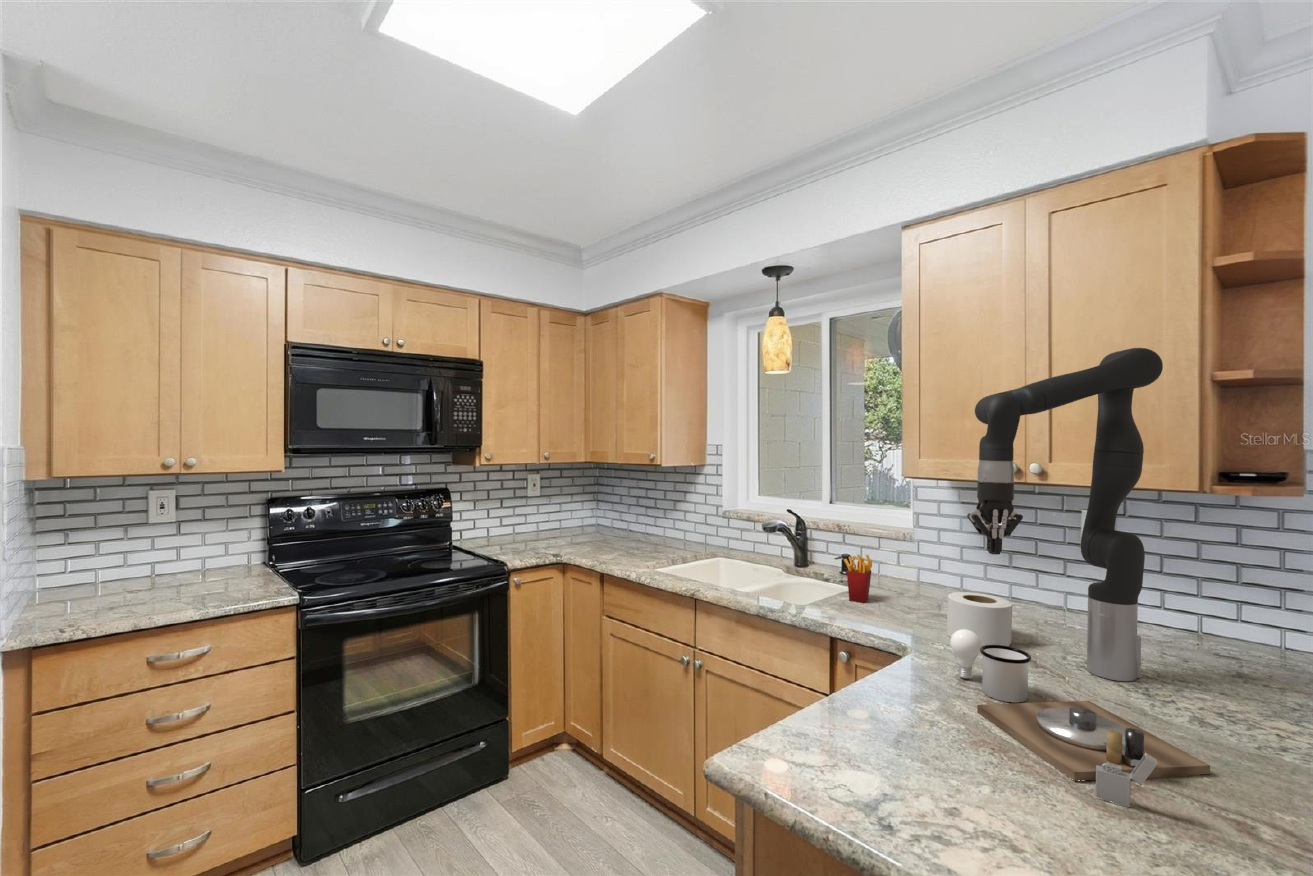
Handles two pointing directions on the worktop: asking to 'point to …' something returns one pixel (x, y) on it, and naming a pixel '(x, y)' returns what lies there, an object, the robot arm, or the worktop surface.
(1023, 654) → the mug
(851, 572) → the french fries
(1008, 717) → the walnut board
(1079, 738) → the pot lid with knob
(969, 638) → the lightbulb
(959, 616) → the toilet paper roll
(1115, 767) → the lighter
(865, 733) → the worktop surface
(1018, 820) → the worktop surface
